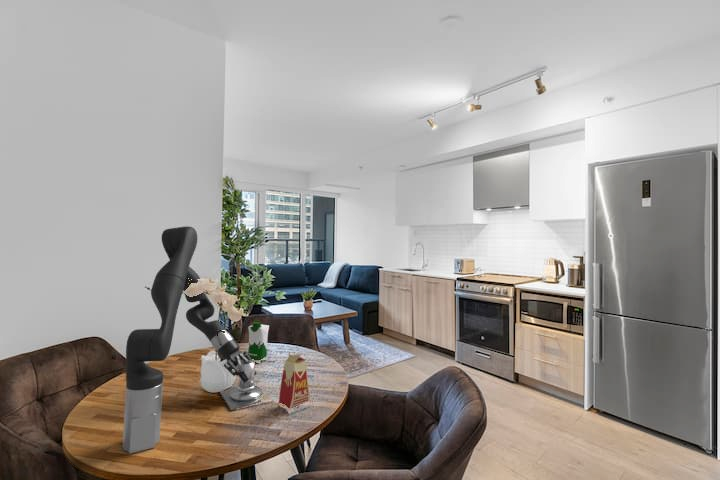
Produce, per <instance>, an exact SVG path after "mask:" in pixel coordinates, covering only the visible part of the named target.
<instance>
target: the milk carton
mask: <svg viewBox="0 0 720 480" xmlns="http://www.w3.org/2000/svg"><path fill="white" fill-rule="evenodd" d="M287 355H288V357H287V359H286V360H285V362H284V365H283V370H282V377H281V382H280V388H279V396H278V404H279V403H282V404H285V405H286V406H287V407H288V408H290V409H291V408H293V407H296V406H298V405H300V404H303V403H305V402H308V401H310V402H311V398H310V397H311V396H310V389H309V388H310V387H309V378H308V368H307V359H304V358H303V357H301V355H302V354H301V353H298V354H297V353H296V354H292V353H287Z"/></svg>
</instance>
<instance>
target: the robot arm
mask: <svg viewBox="0 0 720 480" xmlns="http://www.w3.org/2000/svg"><path fill="white" fill-rule="evenodd" d="M161 243H162V246H163V249H164V252H165V253H166V255H167V257H168V259H169V260H168V261H167V262H166V263H165V264H164V265H163V266H162V267H161V268H160V269H159V270H158V272H156V274H155V277H154V280H153V283H152V285H151V289H150V295H151V296H150V297H151V298H152V302H153V303H154V305H155V307H156V309H157V310H158V312H159V316H160V318H161V323H160V327H159V328H143V329H142V328H141V329H139V328H138V329H134V330H133V331H131V332H130V333H129V335H128V336H127V340H126V345H125V346H126V348H125V380H126V381H125V382H126V383H125V398H124V399H125V400H124V414H123V432H122V450H123V451H125V452H128V454H129V455H131V454H134V453H137V452H138V453H139V452H143V451H146V450H149V449H154V448H155V447H156V445H157V444H158V443H159V441H160V439H161V438H160V437H161V423H162V422H161V420H162V403H163V402H162V401H163V388H164V387H163V386H164V373H163V371H161V370H160V369H158V368H155V367H151V366H149V365H148V364H146V362H162V361H164V360H166V358H167V357H168V356H169V353H170V350H171V347H172V341H173V336H174V330H175V324H176V318H177V314H178V311H179V307H180V302H181V298H182V296H183V293H184V291H185V290H186V289H187V288H188V287H189V285H190V284H191V283H197V282H198V280H197V279H201V277H200V276H199V274H198V273H197V272H196V271H195V270H194V269H193V268H192V267H191V266H190V264H191V261H192V259H193V256H194V253H195V251H196V248H197V245H198V233H197V230H196V229H195V227H192V226H187V225H186V226H179V227H171V228H166V229H164V230H163V232H162V234H161ZM188 278H189V279H188ZM191 279H192V280H191ZM189 280H190V281H189ZM188 283H189V284H188ZM184 297H185V299H186V301H187V302H188V303H196V302H199V303H198V304H196V305H194V306H192V307H190V308H188V310H187V311H186V313H185V319H186V320H187V322H188V323H189V324H191V325H192V326H193V327H194V328H196V329H198V330H199V331H200V332H201V333H202V334H204V336H205V337H206V338H207V340H209V342H210V344H211V345H212V346H213V348H214V350H215V351H216V352H217V354H218V355H219V356H220V357H221V358H222V360H224V361H225V360H226V362H225V363H224V364H223V367H224V368H225V369H226V370H227V371H228V372H229V373H230V374H231V375H232V376H233V377H235V376H238V378H239V377H240V378H241V379H242V381H243V382H244V383H245V382H247V381H248V380H249V378H248V376H247V375H246V374H245V373H244V371H243V370H242V368H241V362H243V361H247V360H251V361H252V359H251V358H250V356H249V355H248V351H246V350H244V351H243V352H242V351H240V347H241V346H240V345H239V344H238V341H236V339H235V338H234V337H233V335H231V333H230V332H229V331H227V329H226V328H225V327H224V325H222V323H221V322H220V321H219V320H217V319H215V320H211V321H206V320H209V318H211V317H213V316H214V314H215V307H214V305H213V302H211V300H210V299H209V298H208V296H207V294H206V293H205V294H204V293H201V294H199V295H197V296H193V297H189V296H187V295H186V294H185V293H184ZM218 330H219V331H220V330H221V331H225V333H223V332H221V331H220V332H219V331H218ZM217 332H218V336H217ZM220 344H221V345H220ZM256 375H257V371H256V370H255V371H254V377H256Z"/></svg>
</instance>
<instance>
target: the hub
mask: <svg viewBox="0 0 720 480" xmlns="http://www.w3.org/2000/svg"><path fill="white" fill-rule="evenodd" d="M255 364H256V363H255V362H254V361H251V360H247V361H243V362H241V368H242V370H243V371H244V373H245V374H246V375H247V376H248V378H249V380H248V381H247V382H245V383H244V382H243V381H242V379H241V378H240V377H239V376H238V384H237V386H236V387H237V390H238V391H240V392H249V391H252V390H254V389H255V384H254V383H255V376H254V371H256V370H255V366H256V365H255Z"/></svg>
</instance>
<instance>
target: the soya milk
mask: <svg viewBox="0 0 720 480" xmlns="http://www.w3.org/2000/svg"><path fill="white" fill-rule="evenodd" d="M247 327H248V349H247V350H248V351H247V353H248V355H249V356H250V358H251V359H254V360H261V359H263V358H264V357H266V356H267V357H268V353H267V352H268V338H269V337H268V335H269V330H270V325H267V324H262V322H260V321H253V322H252V325H249V326H247Z"/></svg>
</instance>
